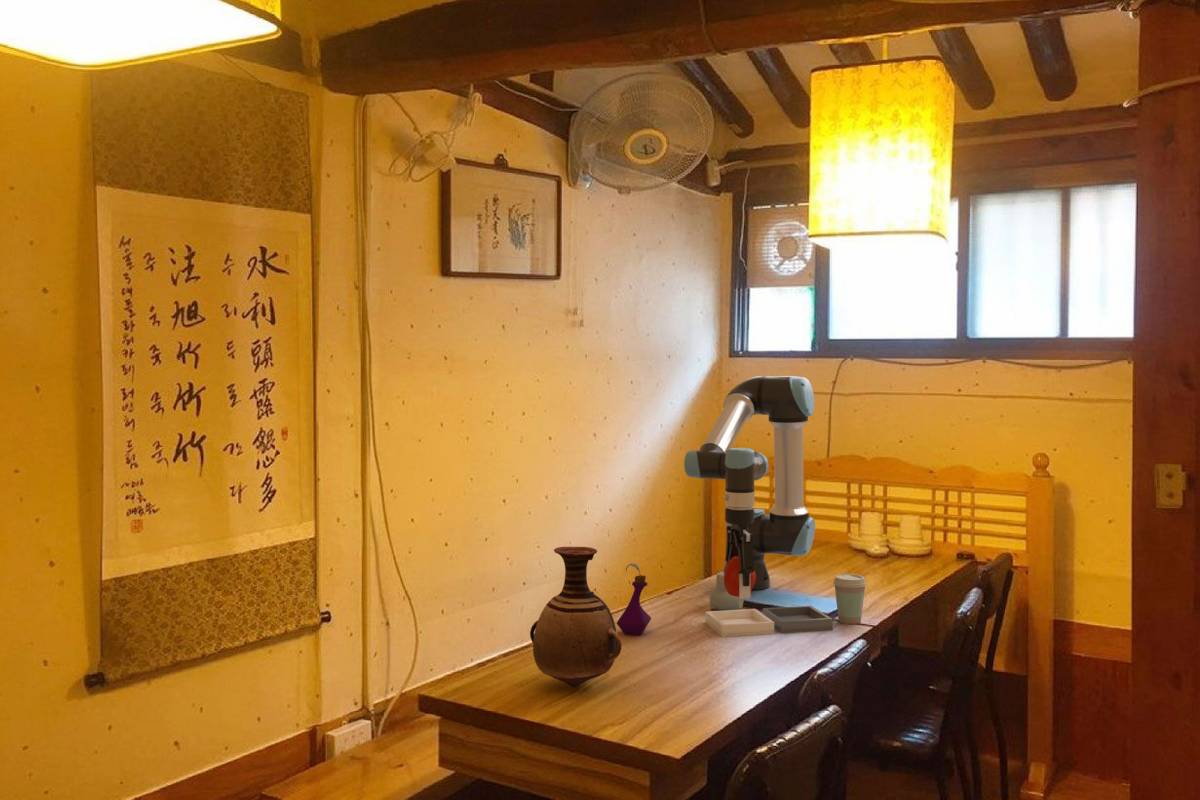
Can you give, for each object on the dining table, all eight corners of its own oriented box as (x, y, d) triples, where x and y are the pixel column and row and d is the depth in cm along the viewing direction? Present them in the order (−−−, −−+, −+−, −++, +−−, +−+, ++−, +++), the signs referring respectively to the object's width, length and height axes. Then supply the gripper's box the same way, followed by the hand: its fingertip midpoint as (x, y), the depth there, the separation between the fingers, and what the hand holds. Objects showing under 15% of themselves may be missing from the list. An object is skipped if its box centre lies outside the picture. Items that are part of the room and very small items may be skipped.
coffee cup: (866, 626, 270) (867, 581, 269) (833, 624, 271) (833, 579, 271) (865, 617, 278) (865, 574, 278) (832, 616, 280) (833, 572, 279)
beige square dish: (705, 622, 274) (705, 611, 274) (755, 619, 277) (755, 608, 277) (722, 636, 260) (722, 625, 260) (774, 633, 263) (774, 622, 263)
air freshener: (737, 615, 281) (737, 579, 281) (708, 613, 284) (708, 577, 284) (745, 606, 292) (745, 571, 291) (716, 603, 294) (716, 569, 294)
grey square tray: (762, 619, 277) (762, 608, 277) (810, 616, 280) (811, 605, 280) (781, 633, 264) (781, 621, 263) (832, 629, 266) (832, 618, 266)
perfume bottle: (651, 630, 267) (651, 561, 266) (645, 638, 259) (644, 567, 259) (623, 628, 269) (623, 560, 268) (616, 635, 261) (616, 565, 261)
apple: (759, 593, 269) (760, 553, 269) (747, 600, 262) (748, 558, 262) (730, 590, 274) (731, 550, 273) (718, 596, 267) (718, 555, 266)
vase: (511, 684, 224) (510, 548, 222) (572, 666, 236) (572, 537, 235) (579, 708, 209) (578, 562, 207) (640, 687, 221) (640, 549, 220)
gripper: (713, 502, 277) (713, 586, 278) (739, 514, 256) (738, 604, 257) (739, 501, 278) (739, 584, 279) (767, 513, 258) (767, 602, 259)
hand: (739, 594), depth 268 cm, fingers closed on apple, 8 cm apart
